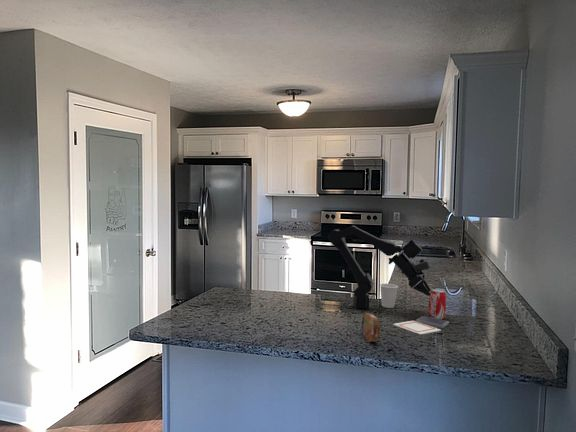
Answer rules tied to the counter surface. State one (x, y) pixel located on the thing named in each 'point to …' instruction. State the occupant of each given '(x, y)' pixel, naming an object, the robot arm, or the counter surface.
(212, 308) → the counter surface
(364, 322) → the brown oval slab
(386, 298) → the dixie cup
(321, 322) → the counter surface
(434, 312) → the soda can
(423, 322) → the ink pad
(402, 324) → the print card
